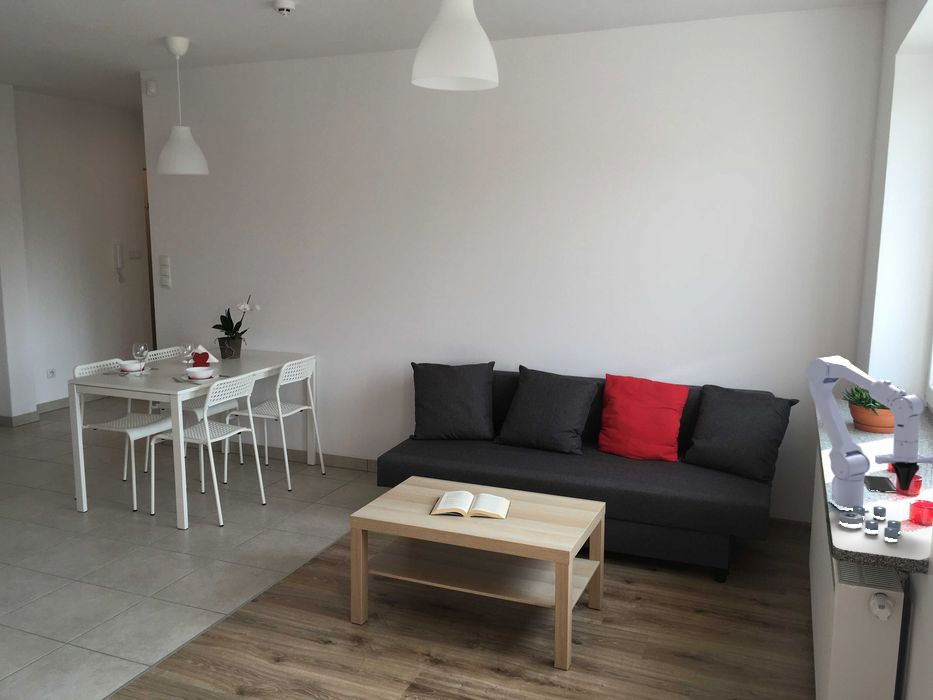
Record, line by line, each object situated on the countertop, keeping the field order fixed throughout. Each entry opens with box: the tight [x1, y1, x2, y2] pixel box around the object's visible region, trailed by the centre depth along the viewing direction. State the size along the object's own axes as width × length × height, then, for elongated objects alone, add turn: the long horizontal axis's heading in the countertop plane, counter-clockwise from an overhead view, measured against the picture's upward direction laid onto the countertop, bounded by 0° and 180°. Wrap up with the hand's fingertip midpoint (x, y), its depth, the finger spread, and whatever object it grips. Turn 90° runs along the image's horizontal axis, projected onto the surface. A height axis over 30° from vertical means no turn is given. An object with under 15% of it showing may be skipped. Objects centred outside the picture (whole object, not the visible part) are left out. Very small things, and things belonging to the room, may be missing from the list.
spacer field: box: [852, 505, 902, 539], centre depth 201 cm, size 20×10×3 cm, turn 174°
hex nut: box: [838, 511, 864, 524], centre depth 204 cm, size 6×5×3 cm
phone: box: [864, 475, 897, 492], centre depth 239 cm, size 8×1×15 cm
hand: (904, 489), depth 204 cm, fingers closed
